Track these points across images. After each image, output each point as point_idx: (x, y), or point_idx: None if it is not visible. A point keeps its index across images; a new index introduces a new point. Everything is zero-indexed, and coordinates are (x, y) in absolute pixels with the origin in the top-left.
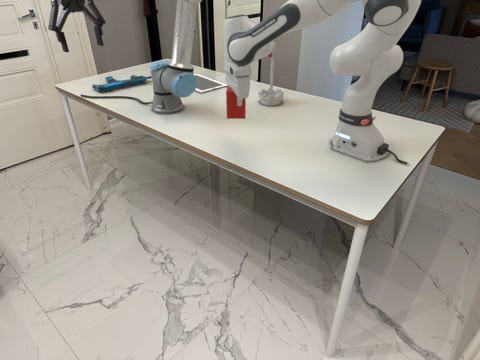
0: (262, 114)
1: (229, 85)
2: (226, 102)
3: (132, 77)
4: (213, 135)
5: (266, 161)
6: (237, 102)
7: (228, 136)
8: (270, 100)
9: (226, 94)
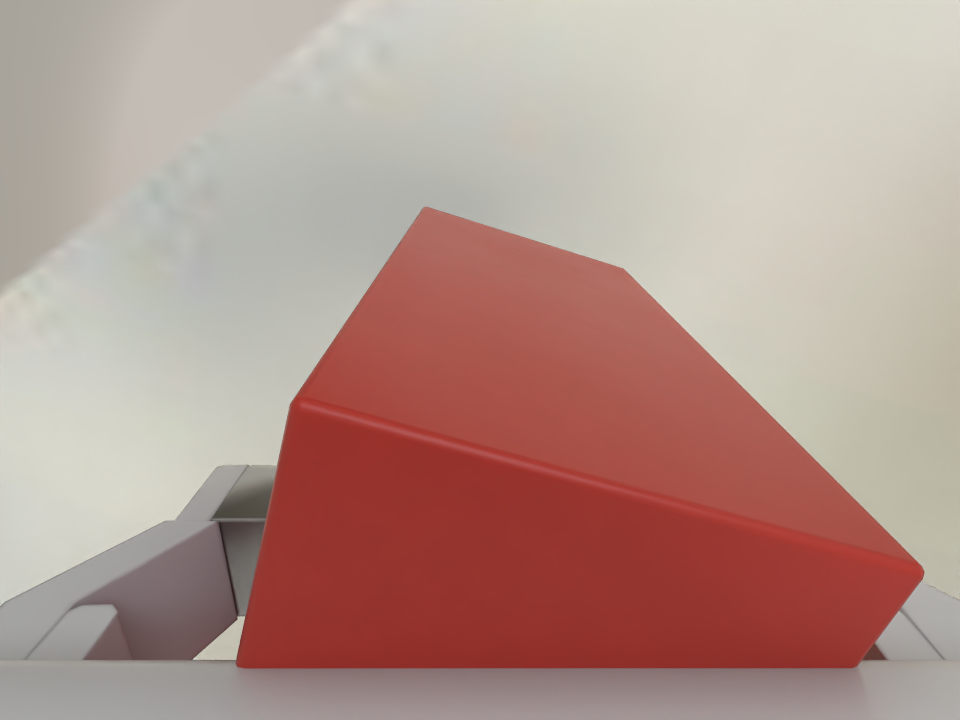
0: None
1: (938, 713)
2: (385, 266)
3: None
4: (757, 90)
5: (171, 404)
6: (184, 508)
7: (675, 234)
8: None
9: (329, 352)
